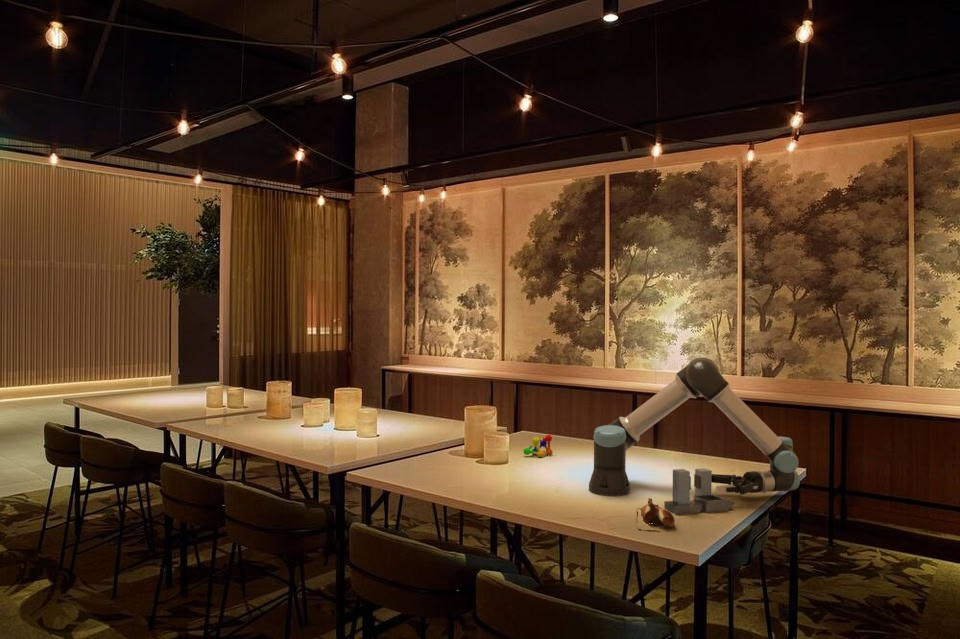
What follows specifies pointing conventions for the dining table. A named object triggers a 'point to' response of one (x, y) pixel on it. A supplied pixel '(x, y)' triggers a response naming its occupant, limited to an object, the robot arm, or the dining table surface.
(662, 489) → the dining table surface
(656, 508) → the ballet pointe shoes
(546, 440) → the molecular model
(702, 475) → the gray rectangular block
